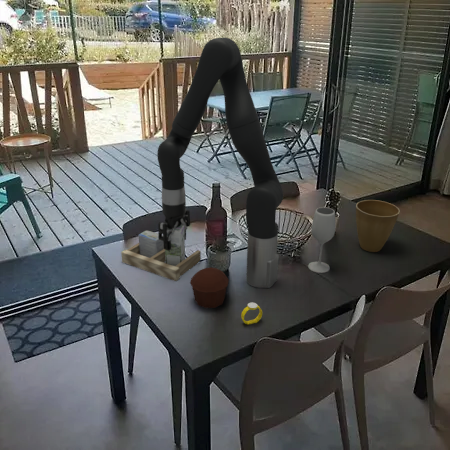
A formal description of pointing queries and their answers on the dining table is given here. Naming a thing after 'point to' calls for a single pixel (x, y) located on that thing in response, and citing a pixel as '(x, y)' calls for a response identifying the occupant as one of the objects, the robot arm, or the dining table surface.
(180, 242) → the syrup box
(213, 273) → the muffin
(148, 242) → the medicine box
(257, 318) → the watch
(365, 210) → the plant pot
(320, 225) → the wineglass
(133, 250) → the wooden tray
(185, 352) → the dining table surface
